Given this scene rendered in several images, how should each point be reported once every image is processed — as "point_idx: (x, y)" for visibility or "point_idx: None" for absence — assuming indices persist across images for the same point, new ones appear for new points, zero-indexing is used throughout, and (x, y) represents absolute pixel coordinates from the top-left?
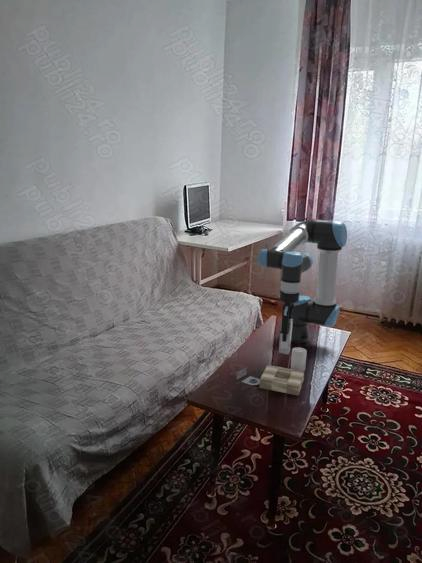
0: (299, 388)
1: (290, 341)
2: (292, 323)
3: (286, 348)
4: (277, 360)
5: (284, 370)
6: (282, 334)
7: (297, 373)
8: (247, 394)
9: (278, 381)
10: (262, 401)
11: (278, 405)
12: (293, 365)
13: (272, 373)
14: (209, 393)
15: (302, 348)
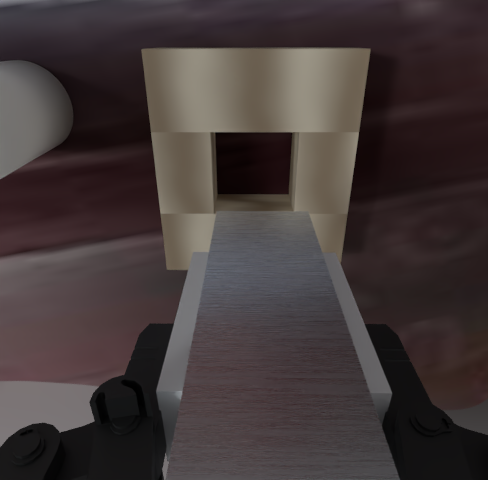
0: (346, 48)
1: (241, 267)
2: None
3: (335, 260)
4: (9, 228)
5: (190, 176)
6: None
7: (192, 92)
8: (403, 274)
9: (340, 182)
10: (451, 208)
11: (476, 133)
12: (56, 137)
13: None
14: (426, 381)
15: None
